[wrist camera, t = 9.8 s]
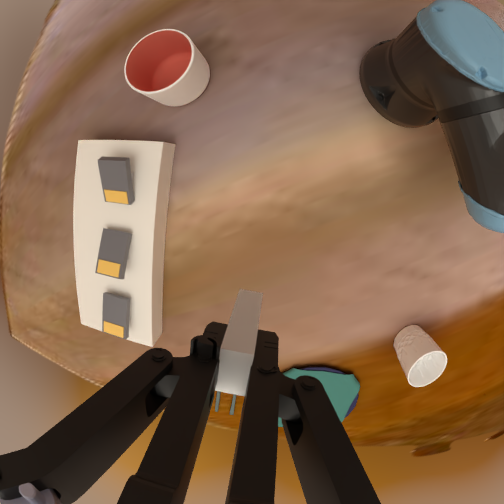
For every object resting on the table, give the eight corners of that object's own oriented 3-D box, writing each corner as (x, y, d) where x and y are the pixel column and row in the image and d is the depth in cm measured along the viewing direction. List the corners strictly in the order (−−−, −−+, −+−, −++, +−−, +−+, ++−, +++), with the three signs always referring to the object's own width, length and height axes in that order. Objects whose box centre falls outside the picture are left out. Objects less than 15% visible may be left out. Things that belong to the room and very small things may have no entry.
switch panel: (94, 141, 42) (74, 140, 36) (175, 144, 41) (161, 141, 35) (93, 312, 52) (78, 325, 46) (162, 332, 51) (150, 349, 45)
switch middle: (107, 229, 40) (102, 227, 39) (132, 233, 40) (128, 232, 39) (99, 273, 40) (94, 272, 39) (124, 279, 40) (120, 279, 38)
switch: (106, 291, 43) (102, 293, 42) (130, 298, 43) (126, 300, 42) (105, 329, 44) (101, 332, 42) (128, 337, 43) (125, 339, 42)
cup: (142, 93, 39) (111, 79, 29) (175, 45, 36) (152, 21, 27) (188, 118, 40) (164, 105, 30) (224, 67, 37) (209, 42, 27)
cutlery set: (339, 427, 55) (340, 434, 53) (212, 411, 57) (210, 418, 55) (370, 365, 50) (373, 372, 47) (220, 344, 51) (217, 351, 49)
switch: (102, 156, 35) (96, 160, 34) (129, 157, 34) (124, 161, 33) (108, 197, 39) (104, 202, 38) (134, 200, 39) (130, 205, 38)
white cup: (391, 360, 48) (407, 392, 39) (389, 329, 47) (408, 360, 37) (425, 347, 47) (445, 377, 38) (425, 316, 45) (448, 344, 36)
